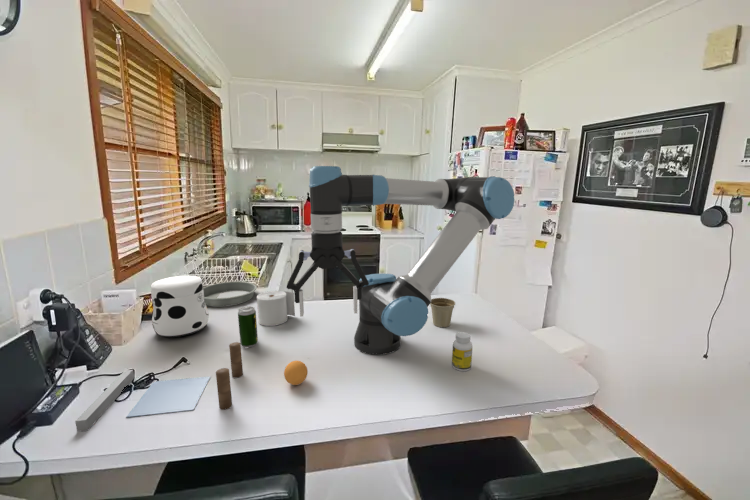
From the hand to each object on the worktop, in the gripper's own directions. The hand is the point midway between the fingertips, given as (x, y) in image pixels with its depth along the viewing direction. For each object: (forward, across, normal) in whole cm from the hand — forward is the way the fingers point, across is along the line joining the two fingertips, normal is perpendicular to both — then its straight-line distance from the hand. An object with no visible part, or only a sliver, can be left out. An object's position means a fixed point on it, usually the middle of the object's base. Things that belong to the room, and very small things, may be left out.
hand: (329, 313), depth 88 cm
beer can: (+19, -26, +24) cm, 40 cm away
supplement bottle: (+19, +37, +1) cm, 42 cm away
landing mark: (+19, -39, -1) cm, 43 cm away
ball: (+16, -9, 0) cm, 18 cm away
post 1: (+19, -25, -7) cm, 32 cm away
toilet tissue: (+19, -20, +43) cm, 51 cm away
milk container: (+19, -51, +39) cm, 67 cm away
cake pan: (+19, -44, +72) cm, 86 cm away
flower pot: (+19, +41, +30) cm, 54 cm away
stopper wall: (+19, -53, -1) cm, 56 cm away
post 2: (+19, -25, +6) cm, 32 cm away
